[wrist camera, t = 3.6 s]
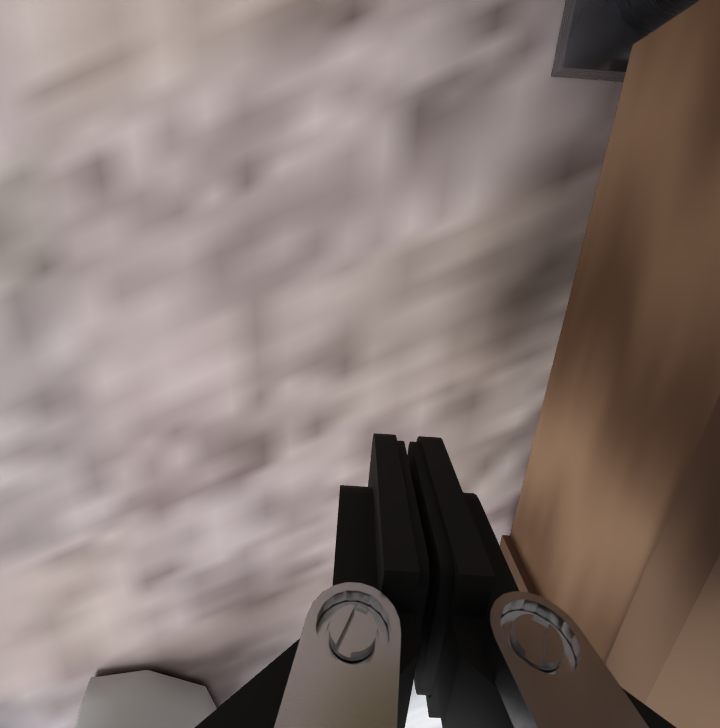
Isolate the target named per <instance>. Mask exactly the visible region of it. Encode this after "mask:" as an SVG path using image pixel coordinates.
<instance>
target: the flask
mask: <svg viewBox="0 0 720 728" xmlns="http://www.w3.org/2000/svg"><path fill="white" fill-rule="evenodd" d="M216 709H217V708H216V706H215V704H214V702H213V700H212V698H211V696H210V694H209V692H208V691H207V689H206V687H205V686H202V685H198V684H195V683H191V682H188V681H184V680H181V679H177V678H174V677H170V676H167V675H164V674H160V673H157V672H153V671H150V670H142V671H135V672H128V673H121V674H114V675H107V676H99V677H92V678H91V679H90V682H89V684H88V687H87V690H86V693H85V696H84V698H83V701H82V704H81V707H80V709H79V712H78V716H77V719H76V723H75V726H74V728H195V727H196V726H197V725H198V724H199V723H200V722H202V721H203V720H204V719H205V718H206V717H208V716H209V715H210V714H211V713H212V712H214V711H215V710H216Z"/></svg>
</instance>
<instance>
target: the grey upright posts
mask: <svg viewBox="0 0 720 728" xmlns="http://www.w3.org/2000/svg"><path fill="white" fill-rule="evenodd" d="M698 1H700V0H566V2H565V7H564V12H563V18H562V23H561V28H560V33H559V38H558V43H557V48H556V54H555V59H554V64H553V69H552V74H551V76H553V77H566V78H580V79H594V80H607V81H621V82H624V78H625V74H626V70H627V66H628V62H629V58H630V54H631V50H632V46H633V44H635V43H636V42H638V41H639V40H641V39H642V38H644V37H645V36H647V35H648V34H650V33H651V32H653V31H654V30H656V29H657V28H659V27H660V26H662V25H663V24H665V23H666V22H668V21H669V20H671V19H672V18H674V17H676V16H677V15H679V14H680V13H682V12H683V11H685V10H686V9H688V8H689V7H691V6H692V5H694V4H695V3H697V2H698Z"/></svg>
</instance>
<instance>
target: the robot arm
mask: <svg viewBox="0 0 720 728" xmlns="http://www.w3.org/2000/svg"><path fill="white" fill-rule="evenodd" d="M413 680H414V682H415V689H416V693H417V695H426V700H427V707H428V714H429V717H433V718H441V721H442V727H443V728H676V727H675V726H674V725H672V724H671V723H670V722H668V721H667V720H665V719H664V718H663V717H661V716H660V715H659V714H657V713H656V712H654V711H653V710H652V709H650V708H649V707H648V706H646V705H645V704H644V703H642V702H641V701H639V700H638V699H637V698H635V697H634V696H633V695H631V694H630V693H628V692H627V691H626V690H624V689H623V688H622V687H621V686H620V685H619V683H618V682H617V681H616V679H615V678H614V676H613V675H612V673H611V672H610V670H609V669H608V668H607V666H606V665H605V663H604V662H603V660H602V659H601V657H600V656H599V655H598V653H597V652H596V650H595V649H594V647H593V646H592V645H591V643H590V642H589V640H588V639H587V637H586V636H585V634H584V633H583V632H582V630H581V629H580V628H579V626H578V625H577V624H576V623H575V622H574V621H573V619H572V618H571V617H570V616H569V615H568V614H567V613H566V612H564V611H563V610H562V609H561V608H559V607H558V606H557V605H556V604H554V603H552V602H550V601H549V600H547V599H545V598H543V597H541V596H538V595H535V594H532V593H529V592H520V591H519V589H518V587H517V584H516V582H515V580H514V578H513V575H512V573H511V571H510V569H509V566H508V564H507V562H506V560H505V557H504V555H503V553H502V550H501V548H500V546H499V544H498V541H497V539H496V537H495V535H494V532H493V530H492V528H491V525H490V523H489V521H488V519H487V516H486V514H485V512H484V510H483V507H482V505H481V503H480V500H479V499H478V497H477V495H475V494H474V493H463V492H462V489H461V486H460V484H459V481H458V479H457V476H456V474H455V471H454V468H453V466H452V463H451V461H450V458H449V456H448V453H447V451H446V448H445V445H444V443H443V440H442V439H441V438H436V437H421V436H419V437H418V439H417V442H410V443H409V448H408V455H407V453H406V448H405V443H404V441H397V438H396V435H390V434H375V433H374V435H373V442H372V452H371V462H370V472H369V482H368V487H360V486H344V485H340V496H339V509H338V522H337V536H336V549H335V562H334V575H333V586H332V587H330V588H329V589H327V590H325V591H323V592H322V593H321V594H320V595H319V596H318V597H317V598H316V600H315V601H314V602H313V604H312V606H311V608H310V610H309V612H308V614H307V617H306V620H305V624H304V627H303V631H302V634H301V637H300V639H299V640H297V641H296V642H295V643H294V644H293V645H292V646H290V647H289V648H288V649H287V650H286V651H284V652H283V653H282V654H281V655H280V656H279V657H277V658H276V659H275V660H274V661H273V662H271V663H270V664H269V665H268V666H267V667H266V668H264V669H263V670H262V671H261V672H260V673H258V674H257V675H256V676H255V677H254V678H253V679H251V680H250V681H249V682H248V683H247V684H245V685H244V686H243V687H242V688H241V689H240V690H238V691H237V692H236V693H235V694H234V695H232V696H231V697H230V698H229V699H228V700H227V701H225V702H224V703H223V704H222V705H221V706H219V707H218V708H217V709H216V710H215V711H214V712H212V713H211V714H210V715H209V716H208V717H206V718H205V719H204V720H203V721H202V722H200V723H199V724H198V725H197V726H196V727H195V728H405V723H406V718H407V712H408V707H409V702H410V696H411V691H412V686H413Z"/></svg>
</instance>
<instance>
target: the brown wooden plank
mask: <svg viewBox="0 0 720 728" xmlns="http://www.w3.org/2000/svg"><path fill="white" fill-rule="evenodd" d="M500 548H501V550H502V553H503V555H504V557H505V560H506V562H507V564H508V566H509V569H510V571H511V573H512V575H513V578H514V580H515V582H516V584H517V587H518V589H519V591H520V592H529V593H532V594H535V595H538V596H541V597H543V598H545V599H547V600H549V601H550V602H552V603H554V604H556V605H557V606H558V607H559V608H561V609H562V610H563V611H564V612H566V613H567V614H568V615H569V616H570V617H571V618H572V619H573V621H574V622H575V623H576V624H577V625H578V626H579V628H580V629H581V630H582V632H583V633H584V634H585V636H586V637H587V639H588V640H589V642H590V643H591V645H592V646H593V647H594V649H595V650H596V652H597V653H598V655H599V656H600V657H601V659H602V660H603V662H604V663H605V665H606V666H607V668H608V669H609V670H610V672H611V673H612V675H613V676H614V678H615V679H616V681H617V682H618V683H619V685H620V686H621V687H622V688H623V689H624V690H626V691H627V692H628V693H630V694H631V695H633V696H634V697H635V698H637V699H638V700H639V701H641V702H642V703H644V704H645V705H646V706H648V707H649V708H650V709H652V710H653V711H654V712H656V713H657V714H659V715H660V716H661V717H663V718H664V719H665V720H667V721H668V722H670V723H671V724H672V725H674V726H675V727H676V728H720V0H700V1H698V2H697V3H695V4H694V5H692V6H691V7H689V8H688V9H686V10H685V11H683V12H682V13H680V14H679V15H677V16H676V17H674V18H672V19H671V20H669V21H668V22H666V23H665V24H663V25H662V26H660V27H659V28H657V29H656V30H654V31H653V32H651V33H650V34H648V35H647V36H645V37H644V38H642V39H641V40H639V41H638V42H636V43H635V44H633V46H632V50H631V54H630V58H629V62H628V66H627V70H626V74H625V78H624V82H623V86H622V90H621V94H620V98H619V102H618V106H617V110H616V114H615V118H614V122H613V126H612V130H611V134H610V138H609V142H608V146H607V150H606V154H605V158H604V162H603V166H602V170H601V174H600V178H599V182H598V186H597V190H596V194H595V198H594V202H593V206H592V210H591V214H590V218H589V222H588V226H587V230H586V234H585V238H584V242H583V246H582V250H581V254H580V258H579V262H578V266H577V270H576V274H575V278H574V282H573V286H572V290H571V294H570V298H569V302H568V306H567V310H566V314H565V318H564V322H563V326H562V330H561V334H560V338H559V342H558V346H557V350H556V354H555V358H554V362H553V366H552V370H551V374H550V378H549V382H548V386H547V390H546V394H545V398H544V402H543V406H542V410H541V414H540V418H539V422H538V426H537V430H536V434H535V438H534V442H533V446H532V450H531V454H530V458H529V462H528V466H527V470H526V474H525V478H524V482H523V486H522V490H521V494H520V498H519V502H518V506H517V510H516V514H515V518H514V522H513V526H512V530H511V534H510V536H508V535H502V538H501V542H500Z"/></svg>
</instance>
